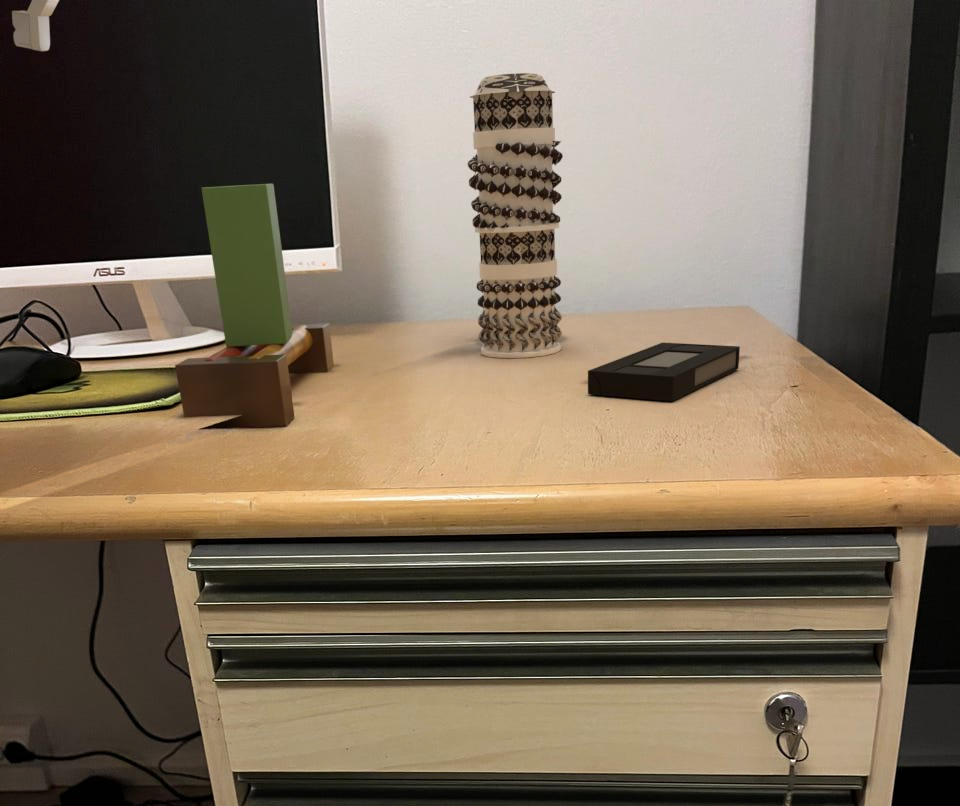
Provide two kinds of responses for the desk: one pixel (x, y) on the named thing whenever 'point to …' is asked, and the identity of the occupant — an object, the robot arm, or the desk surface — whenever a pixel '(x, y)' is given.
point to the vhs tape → (663, 371)
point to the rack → (253, 379)
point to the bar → (248, 264)
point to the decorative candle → (516, 215)
